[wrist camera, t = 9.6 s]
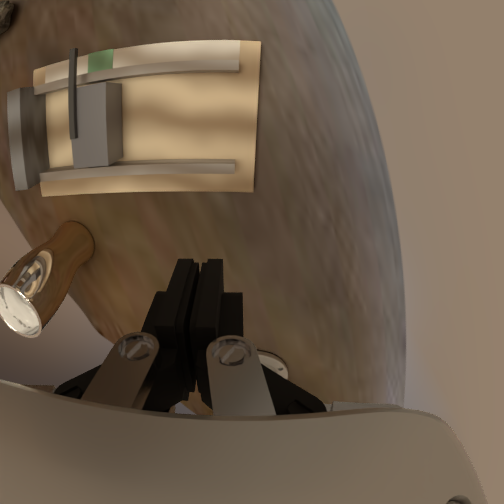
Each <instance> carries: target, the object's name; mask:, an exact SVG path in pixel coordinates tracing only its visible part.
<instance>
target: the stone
mask: <svg viewBox="0 0 504 504" xmlns="http://www.w3.org/2000/svg"><path fill="white" fill-rule="evenodd" d="M13 8H14V5H13V4H9V1H2V2H0V34H1V33H2V32H4V31H6V30H7V29H8V27H9V25H10V21H11V20H10V19H11V17H10V16H11V13H12V11H13Z"/></svg>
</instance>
